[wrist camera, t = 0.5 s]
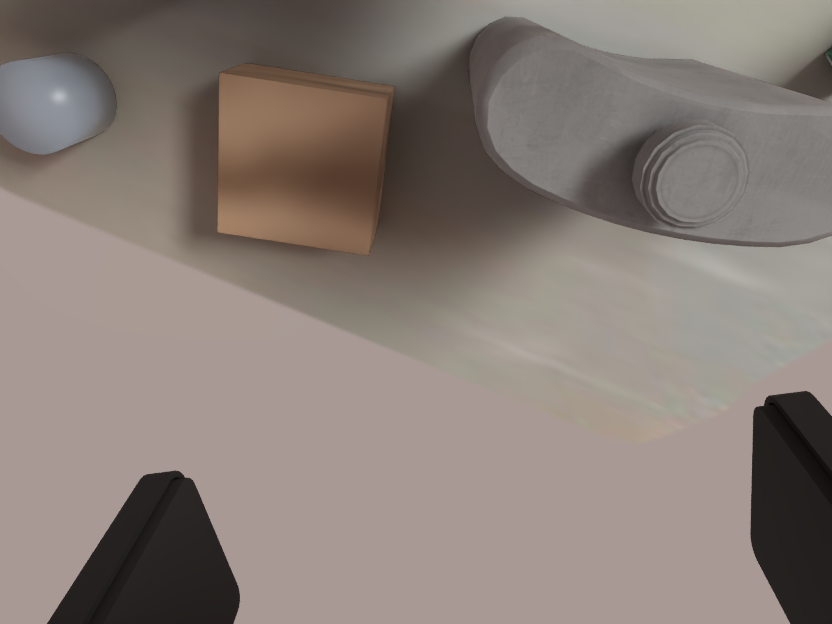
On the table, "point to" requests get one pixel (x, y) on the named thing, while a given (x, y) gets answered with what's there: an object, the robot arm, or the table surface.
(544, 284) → the table surface
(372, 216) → the walnut block
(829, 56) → the coffee box
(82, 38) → the table surface
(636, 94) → the flask
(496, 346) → the table surface
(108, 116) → the grey rounded pebble
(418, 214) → the table surface
